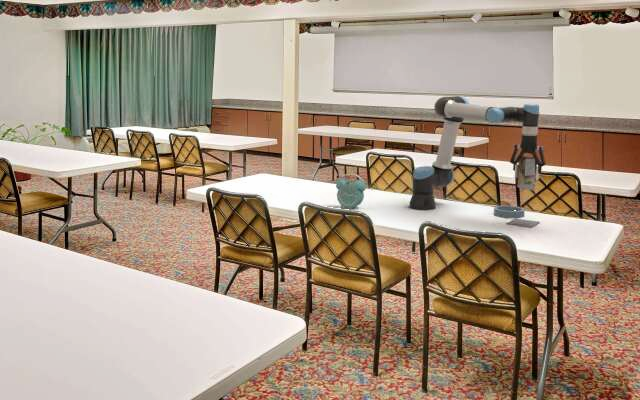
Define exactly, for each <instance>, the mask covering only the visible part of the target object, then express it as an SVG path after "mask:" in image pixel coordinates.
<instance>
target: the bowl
mask: <svg viewBox="0 0 640 400" xmlns="http://www.w3.org/2000/svg"><path fill="white" fill-rule="evenodd" d="M514 210H516V211H514ZM493 215H494V216H496V217H499V218H504V219H515V218H517V219H522V218H523V217H525V209H524V208H523V207H520V206H515V205H496V206H494V207H493Z"/></svg>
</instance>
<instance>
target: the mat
mask: <svg viewBox="0 0 640 400" xmlns="http://www.w3.org/2000/svg"><path fill="white" fill-rule="evenodd" d="M540 223H541V222H540V221H536V220H529V219H524V218H523V219H522V218H512V219H511V220H510V221H508V222H506V224H507V225H511V226H517V227H523V228H529V229H530V228H534V227H536V226H537V225H539V224H540Z"/></svg>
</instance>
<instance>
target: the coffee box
mask: <svg viewBox="0 0 640 400" xmlns="http://www.w3.org/2000/svg"><path fill="white" fill-rule="evenodd" d="M537 167H538V165H537V158H534V157H533V156H525V155H524V156H522V157H520V159H519V161H518V177H517V182H516V184H517V185H516V187H517V188H519V189H522V190H523V191H534V190H536V184H537V183H536V181H537V180H536V168H537Z"/></svg>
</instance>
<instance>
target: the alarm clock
mask: <svg viewBox="0 0 640 400" xmlns="http://www.w3.org/2000/svg"><path fill="white" fill-rule="evenodd" d="M350 175H351V176H355V177H357V178H358V179H357V180H354V182H352V180H348V179H345V178H344V177H346V176H350ZM335 187H336V190H337V192H336V199H337V201H338V203H339V205H340V206H339V207H340V208H339V209H342V208H343V207H344V208H347V209H349V208H354V209H355V208H356V209H359V208H358V206H359V205H361V204H362V203H363V201H364V197H365V194H364V193H365V191H366V189H367V184H366V181H365V179H363V178H361V176H359V175H358V174H357V173H346V174H344V175H342V176H341V177H339V178H338V179H337V181H336V184H335ZM356 209H355V210H356Z"/></svg>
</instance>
